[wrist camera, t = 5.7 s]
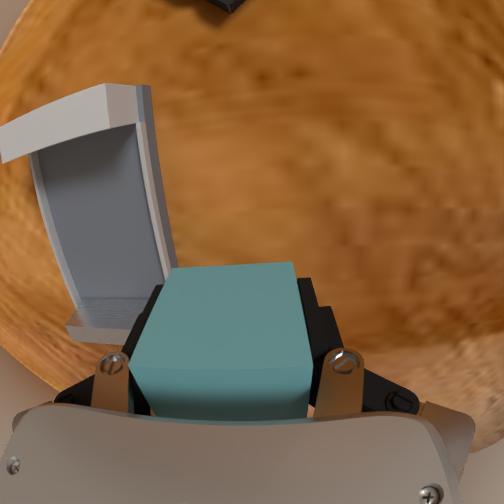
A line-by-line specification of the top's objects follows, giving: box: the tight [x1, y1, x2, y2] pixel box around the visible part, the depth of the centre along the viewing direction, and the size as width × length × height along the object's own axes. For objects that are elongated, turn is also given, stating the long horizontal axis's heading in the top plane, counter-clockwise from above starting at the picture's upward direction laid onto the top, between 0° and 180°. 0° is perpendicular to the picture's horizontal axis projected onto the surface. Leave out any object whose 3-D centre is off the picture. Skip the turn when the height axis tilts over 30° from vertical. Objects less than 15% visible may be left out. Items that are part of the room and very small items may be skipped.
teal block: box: [128, 262, 313, 421], centre depth 10 cm, size 4×5×6 cm
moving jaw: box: [65, 299, 149, 345], centre depth 26 cm, size 2×10×4 cm, turn 94°
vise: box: [0, 83, 178, 308], centre depth 22 cm, size 22×12×7 cm, turn 4°
